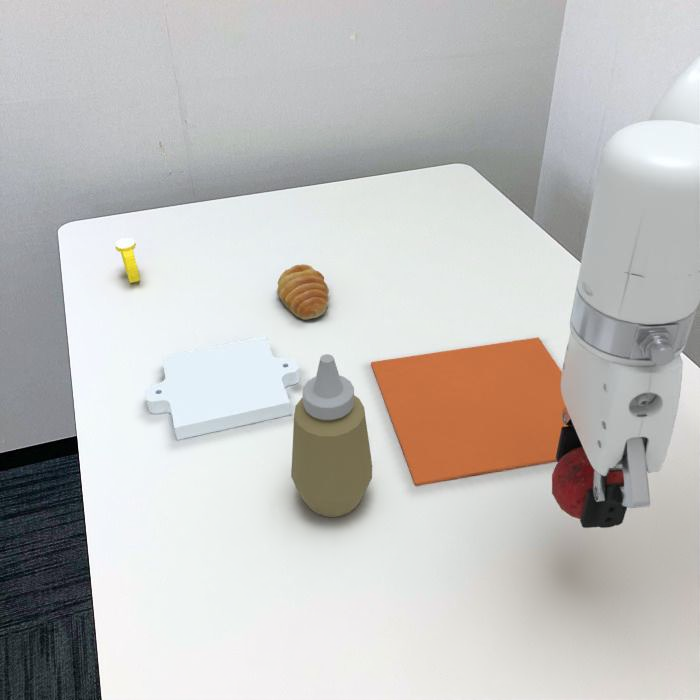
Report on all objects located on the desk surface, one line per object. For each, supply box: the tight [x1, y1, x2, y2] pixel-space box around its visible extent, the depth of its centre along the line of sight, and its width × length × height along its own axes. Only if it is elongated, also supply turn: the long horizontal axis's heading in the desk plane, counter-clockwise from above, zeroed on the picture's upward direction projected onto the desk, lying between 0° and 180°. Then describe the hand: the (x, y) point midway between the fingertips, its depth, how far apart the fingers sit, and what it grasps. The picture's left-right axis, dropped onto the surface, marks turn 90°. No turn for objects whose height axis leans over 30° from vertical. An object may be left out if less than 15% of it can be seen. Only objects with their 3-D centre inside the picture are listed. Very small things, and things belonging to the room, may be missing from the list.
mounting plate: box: [144, 335, 301, 441], centre depth 87 cm, size 18×13×2 cm
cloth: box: [370, 337, 568, 486], centre depth 85 cm, size 22×20×1 cm
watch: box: [114, 237, 141, 284], centre depth 105 cm, size 6×3×6 cm, turn 23°
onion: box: [551, 447, 623, 520], centre depth 60 cm, size 6×6×8 cm
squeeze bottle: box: [290, 353, 373, 518], centre depth 69 cm, size 8×8×18 cm
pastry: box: [276, 263, 330, 321], centre depth 100 cm, size 9×7×4 cm
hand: (587, 489), depth 60 cm, fingers closed on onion, 5 cm apart
